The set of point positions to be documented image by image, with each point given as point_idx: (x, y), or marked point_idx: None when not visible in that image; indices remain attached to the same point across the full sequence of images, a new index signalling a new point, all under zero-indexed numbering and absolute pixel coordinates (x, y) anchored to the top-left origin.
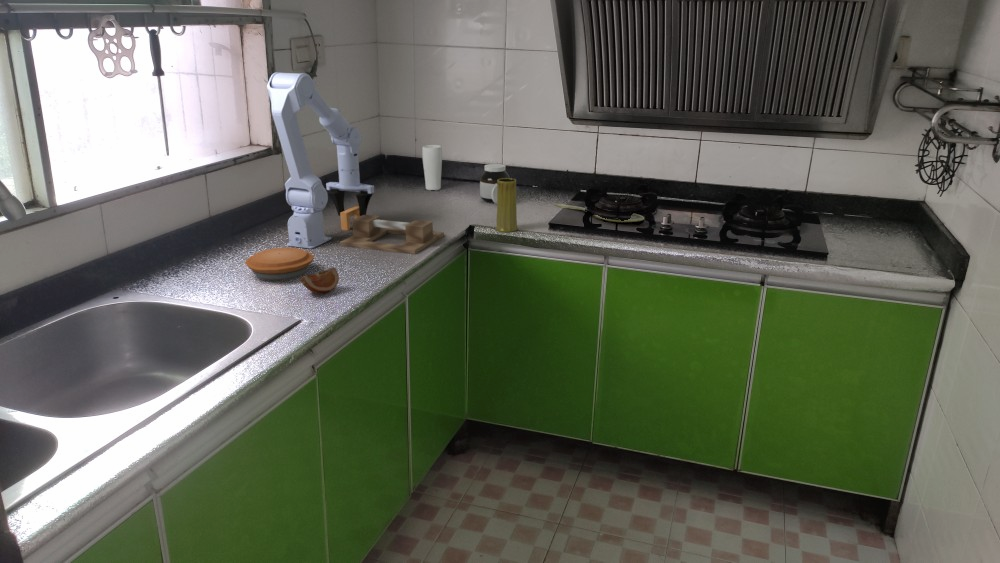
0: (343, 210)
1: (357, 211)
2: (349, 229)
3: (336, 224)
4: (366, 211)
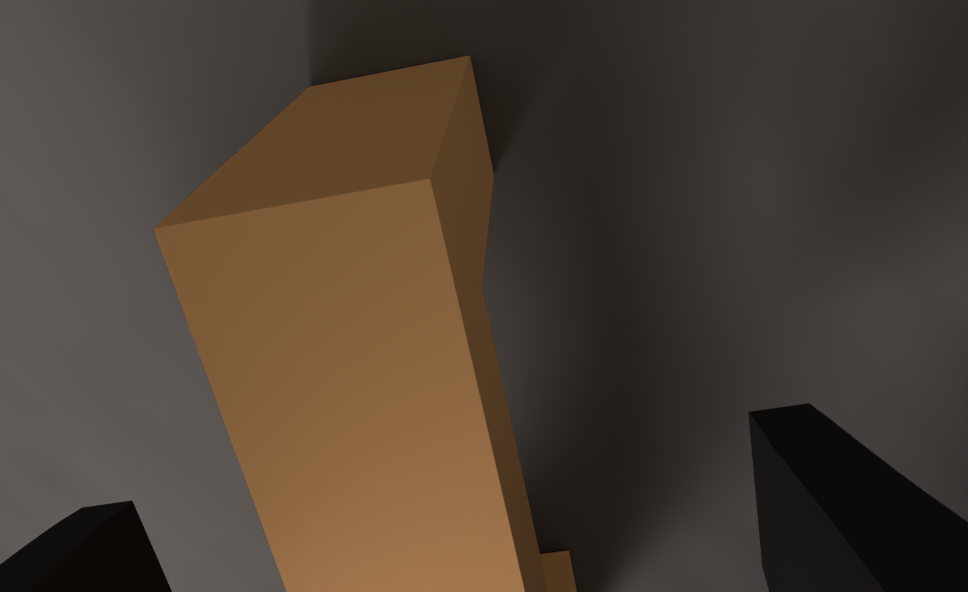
0: (87, 578)
1: (516, 474)
2: (573, 574)
3: (97, 442)
4: (882, 464)
